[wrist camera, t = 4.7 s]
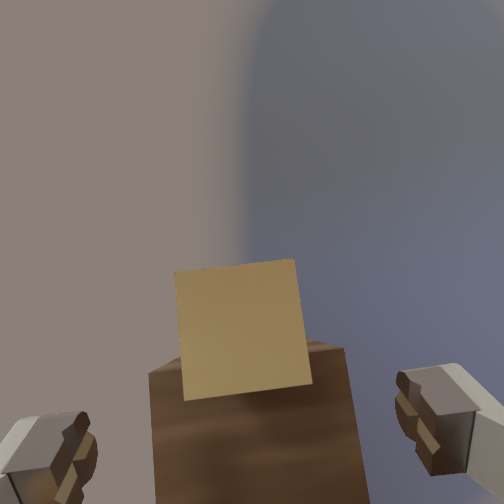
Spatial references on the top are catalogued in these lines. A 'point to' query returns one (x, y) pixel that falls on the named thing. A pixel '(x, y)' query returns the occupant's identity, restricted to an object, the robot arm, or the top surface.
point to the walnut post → (259, 440)
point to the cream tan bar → (241, 329)
